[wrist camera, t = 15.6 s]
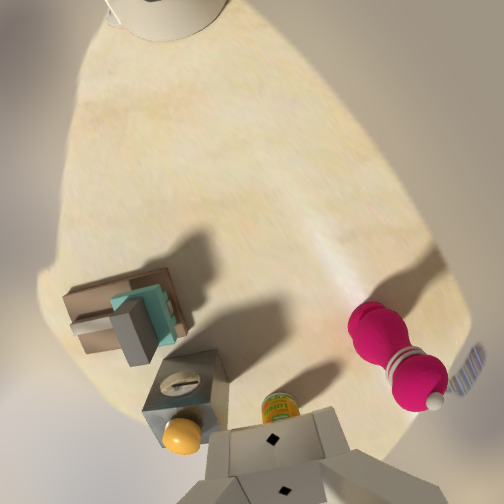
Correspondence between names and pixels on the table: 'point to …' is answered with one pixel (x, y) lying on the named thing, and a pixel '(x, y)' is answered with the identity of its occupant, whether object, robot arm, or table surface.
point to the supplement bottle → (279, 407)
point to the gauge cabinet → (189, 394)
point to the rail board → (100, 309)
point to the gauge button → (182, 436)
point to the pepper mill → (398, 357)
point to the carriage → (142, 323)
